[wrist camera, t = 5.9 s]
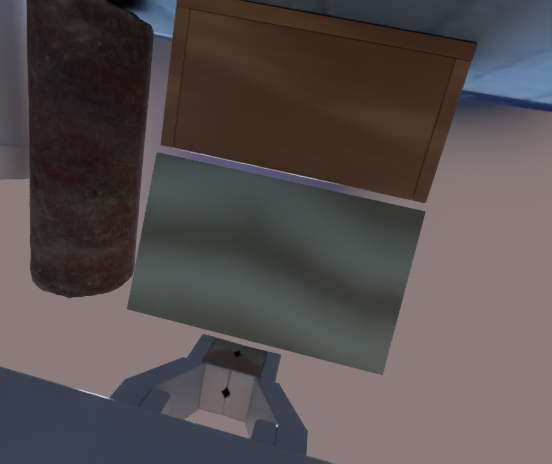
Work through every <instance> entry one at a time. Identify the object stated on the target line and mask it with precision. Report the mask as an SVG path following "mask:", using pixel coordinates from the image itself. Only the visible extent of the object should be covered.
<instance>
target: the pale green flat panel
mask: <svg viewBox="0 0 552 464" xmlns="http://www.w3.org/2000/svg"><path fill="white" fill-rule="evenodd" d="M424 216H425V211H421V210H416V209H412V208H407V207H402V206H398V205H394V204H389V203H385V202H380V201H376V200H371V199H367V198H362V197H357V196H353V195H348V194H344V193H339V192H335V191H330V190H326V189H321V188H317V187H312V186H307V185H303V184H299V183H294V182H290V181H285V180H281V179H276V178H271V177H267V176H262V175H258V174H253V173H249V172H244V171H240V170H235V169H231V168H226V167H221V166H217V165H212V164H208V163H203V162H199V161H194V160H190V159H185V158H181V157H176V156H172V155H167V154H163V153H157V154H156V159H155V165H154V170H153V175H152V180H151V185H150V191H149V196H148V202H147V206H146V212H145V217H144V222H143V228H142V233H141V238H140V243H139V248H138V254H137V259H136V264H135V270H134V275H133V281H132V285H131V291H130V296H129V302H128V306H127V309H128V310H132V311H136V312H140V313H144V314H148V315H152V316H156V317H159V318H164V319H167V320H171V321H175V322H179V323H183V324H187V325H190V326H194V327H198V328H202V329H206V330H210V331H214V332H218V333H222V334H226V335H229V336H233V337H237V338H241V339H245V340H248V341H252V342H256V343H260V344H264V345H268V346H272V347H276V348H279V349H283V350H287V351H291V352H295V353H299V354H303V355H307V356H311V357H314V358H318V359H322V360H326V361H330V362H334V363H337V364H341V365H345V366H349V367H353V368H357V369H361V370H365V371H368V372H372V373H376V374H380V375H383V372H384V368H385V364H386V360H387V356H388V353H389V348H390V345H391V341H392V337H393V334H394V330H395V326H396V322H397V318H398V315H399V310H400V307H401V303H402V299H403V296H404V292H405V288H406V284H407V281H408V276H409V273H410V269H411V265H412V261H413V258H414V254H415V250H416V246H417V242H418V239H419V235H420V231H421V227H422V224H423V219H424Z"/></svg>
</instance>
